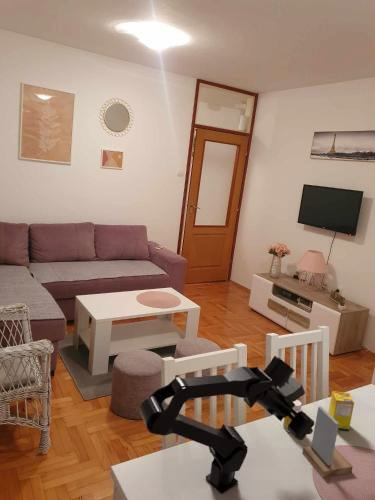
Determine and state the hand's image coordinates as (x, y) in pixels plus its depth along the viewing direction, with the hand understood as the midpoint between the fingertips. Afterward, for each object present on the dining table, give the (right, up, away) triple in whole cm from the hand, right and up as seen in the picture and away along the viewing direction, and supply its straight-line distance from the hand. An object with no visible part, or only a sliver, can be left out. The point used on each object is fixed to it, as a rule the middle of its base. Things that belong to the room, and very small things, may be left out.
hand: (301, 421), depth 113 cm
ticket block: (+9, -14, +5) cm, 17 cm away
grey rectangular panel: (+7, -12, +3) cm, 14 cm away
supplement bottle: (+2, -11, +19) cm, 22 cm away
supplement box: (+19, -12, +23) cm, 33 cm away
